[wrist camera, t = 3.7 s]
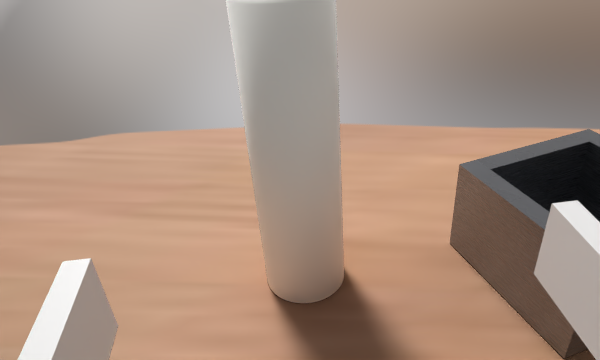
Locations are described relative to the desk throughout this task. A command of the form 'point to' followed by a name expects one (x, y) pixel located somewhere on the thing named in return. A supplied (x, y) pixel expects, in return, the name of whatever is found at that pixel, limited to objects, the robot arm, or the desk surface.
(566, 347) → the square open box
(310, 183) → the cylinder
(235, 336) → the desk surface
